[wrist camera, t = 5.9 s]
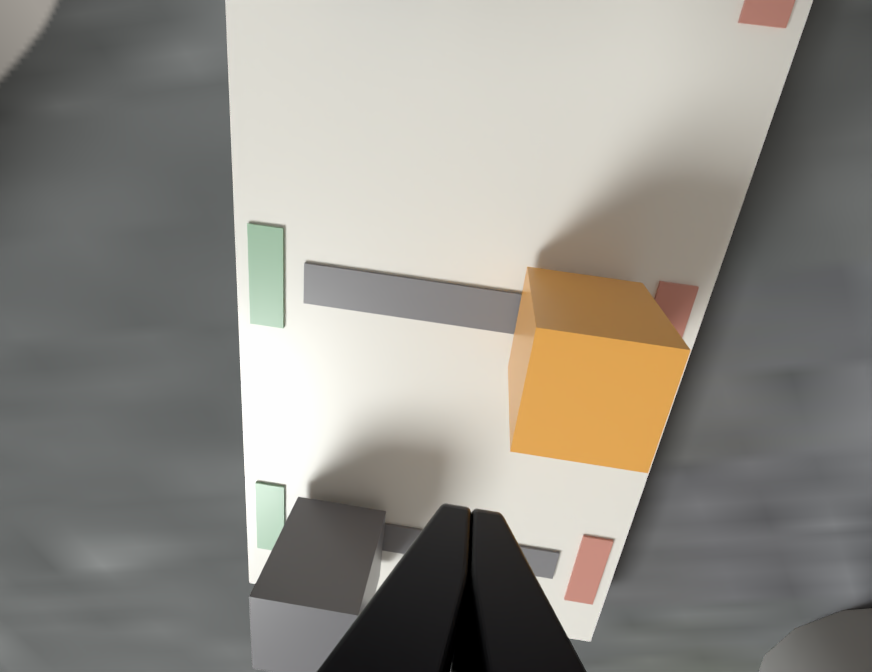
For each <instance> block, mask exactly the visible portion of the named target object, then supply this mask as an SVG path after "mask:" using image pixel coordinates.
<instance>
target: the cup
mask: <svg viewBox="0 0 872 672" xmlns="http://www.w3.org/2000/svg"><path fill="white" fill-rule="evenodd" d="M759 672H872V608H868V609H856V610H843V611H840V612H838V613H835V614H832V615H830V616H827V617H825V618H822V619H819V620H817V621H814V622H811V623H809V624H806V625H804V626H801V627H798V628H796V629H794V630H793V631H792V632H791V633H790V634H788V635H787V636H786V637H785V638H784V639H783V640H782V641H780V642H779V643H778V644H777V645H776V646H775V647H774V648H772V649H771V650H770V651H769V652H768V653H767V654H766V655H764V657H763V660H762V663H761V667H760V670H759Z"/></svg>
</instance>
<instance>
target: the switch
mask: <svg viewBox="0 0 872 672" xmlns="http://www.w3.org/2000/svg"><path fill="white" fill-rule="evenodd" d="M385 518H386V511H383V510H376V509H370V508H364V507H358V506H352V505H346V504H340V503H334V502H328V501H322V500H316V499H310V498H303V497H298V498H297V500H296V502H295V504H294V506H293V508H292V510H291V512H290V514H289V516H288V518H287V520H286V522H285V524H284V527H283V529H282V531H281V533H280V535H279V537H278V539H277V541H276V543H275V545H274V547H273V549H272V551H271V553H270V555H269V557H268V559H267V561H266V563H265V565H264V567H263V569H262V572H261V574H260V576H259V578H258V580H257V582H256V584H255V586H254V588H253V590H252V592H251V594H250V596H249V604H250V627H251V651H252V668H253V669H258V670H264V671H270V672H317V670H318V669H319V668H320V666H321V665H322V664H323V662H324V661H325V660H326V658H327V657H328V656H329V654H330V653H331V652H332V650H333V649H334V648H335V646H336V645H337V644H338V642H339V641H340V640H341V638H342V637H343V636H344V634H345V633H346V632H347V630H348V629H349V628H350V626H351V625H352V624H353V622H354V621H355V619H356V618H357V617H358V615H359V614H360V613H361V611H362V610H363V609H364V607H365V606H366V605H367V603H368V602H369V601H370V599H371V598H372V597H373V595H374V594H375V593H376V589H377V585H378V581H379V577H380V569H381V558H382V548H383V538H384V528H385Z"/></svg>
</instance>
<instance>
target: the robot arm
mask: <svg viewBox="0 0 872 672" xmlns="http://www.w3.org/2000/svg"><path fill="white" fill-rule="evenodd" d="M450 669H451V672H586V670H585V668H584V666H583V664H582V662H581V661H580V659H579V657H578V655H577V653H576V651H575V649H574V647H573V646H572V644H571V642H570V640H569V638H568V636H567V634H566V632H565V631H564V629H563V627H562V625H561V623H560V621H559V619H558V617H557V616H556V614H555V612H554V610H553V608H552V606H551V604H550V602H549V601H548V599H547V597H546V595H545V593H544V591H543V589H542V587H541V585H540V584H539V582H538V580H537V578H536V576H535V574H534V572H533V570H532V569H531V567H530V565H529V563H528V561H527V559H526V557H525V555H524V554H523V552H522V550H521V548H520V546H519V544H518V542H517V540H516V539H515V537H514V535H513V533H512V531H511V529H510V527H509V525H508V524H507V522H506V520H505V518H504V516H503V515H502V514H501V513H500V512H496V511H490V510H484V509H478V508H476V509H474V510H473V511H472V512H471V510H470V508H468V507H466V506H460V505H454V504H448V503H444V504H442V505H441V506H440V507H439V508H438V509H437V511H436V512H435V513H434V515H433V516H432V517H431V519H430V520H429V521H428V523H427V524H426V526H425V527H424V528H423V530H422V531H421V532H420V534H419V535H418V536H417V538H416V539H415V540H414V542H413V543H412V544H411V546H410V547H409V548H408V550H407V551H406V552H405V554H404V555H403V556H402V558H401V559H400V560H399V562H398V563H397V564H396V566H395V567H394V568H393V570H392V571H391V572H390V574H389V575H388V577H387V578H386V579H385V581H384V582H383V583H382V585H381V586H380V587H379V589H378V590H377V591H376V593H375V594H374V595H373V597H372V598H371V599H370V601H369V602H368V603H367V605H366V606H365V607H364V609H363V610H362V611H361V613H360V614H359V615H358V617H357V618H356V619H355V621H354V622H353V624H352V625H351V626H350V628H349V629H348V630H347V632H346V633H345V634H344V636H343V637H342V638H341V640H340V641H339V642H338V644H337V645H336V646H335V648H334V649H333V650H332V652H331V653H330V654H329V656H328V657H327V658H326V660H325V661H324V662H323V664H322V665H321V666H320V668H319V669H318V670H317V672H450Z"/></svg>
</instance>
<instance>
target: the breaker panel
mask: <svg viewBox="0 0 872 672" xmlns="http://www.w3.org/2000/svg"><path fill="white" fill-rule="evenodd" d="M812 2H813V0H225V4H226V28H227V52H228V76H229V101H230V125H231V149H232V173H233V198H234V222H235V246H236V271H237V295H238V319H239V343H240V368H241V392H242V416H243V440H244V465H245V489H246V513H247V537H248V562H249V583H253V584H256V582H257V580H258V578H259V576H260V574H261V572H262V569H263V567H264V565H265V563H266V561H267V559H268V557H269V555H270V553H271V551H272V549H273V547H274V545H275V543H276V541H277V539H278V537H279V535H280V533H281V531H282V529H283V527H284V524H285V522H286V520H287V518H288V516H289V514H290V512H291V510H292V508H293V506H294V504H295V502H296V500H297V498H298V497H303V498H310V499H316V500H322V501H328V502H334V503H340V504H346V505H352V506H358V507H364V508H370V509H376V510H383V511H386V518H385V528H384V538H383V548H382V558H381V569H380V577H379V581H378V585H377V589H376V591H377V590H378V589H379V587H380V586H381V585H382V583H383V582H384V581H385V579H386V578H387V577H388V575H389V574H390V572H391V571H392V570H393V568H394V567H395V566H396V564H397V563H398V562H399V560H400V559H401V558H402V556H403V555H404V554H405V552H406V551H407V550H408V548H409V547H410V546H411V544H412V543H413V542H414V540H415V539H416V538H417V536H418V535H419V534H420V532H421V531H422V530H423V528H424V527H425V526H426V524H427V523H428V521H429V520H430V519H431V517H432V516H433V515H434V513H435V512H436V511H437V509H438V508H439V507H440V506H441V505H442V504H444V503H448V504H454V505H460V506H466V507H468V508H470V510H471V512H472V511H473V510H474V509H476V508H478V509H484V510H490V511H496V512H500V513H501V514H502V515H503V516H504V518H505V520H506V522H507V524H508V525H509V527H510V529H511V531H512V533H513V535H514V537H515V539H516V540H517V542H518V544H519V546H520V548H521V550H522V552H523V554H524V555H525V557H526V559H527V561H528V563H529V565H530V567H531V569H532V570H533V572H534V574H535V576H536V578H537V580H538V582H539V584H540V585H541V587H542V589H543V591H544V593H545V595H546V597H547V599H548V601H549V602H550V604H551V606H552V608H553V610H554V612H555V614H556V616H557V617H558V619H559V621H560V623H561V625H562V627H563V629H564V631H565V632H566V634H567V636H568V638H572V639H578V640H583V641H589V642H590V641H591V639H592V636H593V633H594V630H595V627H596V624H597V621H598V618H599V615H600V613H601V610H602V607H603V604H604V601H605V598H606V595H607V592H608V590H609V587H610V584H611V581H612V578H613V575H614V572H615V569H616V567H617V564H618V561H619V558H620V555H621V552H622V549H623V546H624V544H625V541H626V538H627V535H628V532H629V529H630V526H631V523H632V521H633V518H634V515H635V512H636V509H637V506H638V503H639V500H640V497H641V495H642V492H643V489H644V486H645V483H646V480H647V477H648V474H649V472H650V469H651V466H652V463H653V461H652V463H651V466H650V469H649V472H648V473H643V472H636V471H630V470H624V469H617V468H611V467H605V466H598V465H592V464H586V463H579V462H573V461H567V460H560V459H554V458H548V457H541V456H535V455H528V454H522V453H516V452H510V428H509V392H508V363H509V358H510V353H511V348H512V343H513V337H514V332H515V327H516V322H517V317H518V311H519V306H520V301H521V296H522V291H523V285H524V280H525V275H526V270H527V267H534V268H542V269H549V270H556V271H563V272H570V273H577V274H584V275H591V276H598V277H605V278H612V279H619V280H626V281H633V282H641V283H643V284H644V285H645V287H646V288H647V290H648V291H649V292H650V294H651V295H652V297H653V298H654V299H655V301H656V302H657V304H658V305H659V306H660V308H661V309H662V311H663V312H664V313H665V315H666V316H667V318H668V319H669V320H670V322H671V323H672V325H673V326H674V327H675V329H676V330H677V332H678V333H679V334H680V336H681V337H682V339H683V340H684V341H685V343H686V344H687V346H688V347H689V348H690V350H691V351H692V348H693V345H694V342H695V339H696V336H697V333H698V331H699V328H700V325H701V322H702V319H703V316H704V313H705V310H706V308H707V305H708V302H709V299H710V296H711V293H712V290H713V287H714V285H715V282H716V279H717V276H718V273H719V270H720V267H721V264H722V262H723V259H724V256H725V253H726V250H727V247H728V244H729V241H730V238H731V236H732V233H733V230H734V227H735V224H736V221H737V218H738V215H739V213H740V210H741V207H742V204H743V201H744V198H745V195H746V192H747V190H748V187H749V184H750V181H751V178H752V175H753V172H754V169H755V167H756V164H757V161H758V158H759V155H760V152H761V149H762V146H763V144H764V141H765V138H766V135H767V132H768V129H769V126H770V123H771V120H772V118H773V115H774V112H775V109H776V106H777V103H778V100H779V97H780V95H781V92H782V89H783V86H784V83H785V80H786V77H787V74H788V72H789V69H790V66H791V63H792V60H793V57H794V54H795V51H796V49H797V46H798V43H799V40H800V37H801V34H802V31H803V28H804V26H805V23H806V20H807V17H808V14H809V11H810V8H811V5H812ZM691 351H690V354H691ZM690 354H689V356H690ZM688 359H689V357H688ZM687 362H688V360H687ZM687 362H686V365H687ZM686 365H685V368H686ZM685 368H684V371H685ZM684 371H683V374H684ZM683 374H682V377H683ZM682 377H681V379H682ZM680 382H681V380H680ZM679 385H680V383H679ZM679 385H678V388H679ZM678 388H677V391H678ZM677 391H676V394H677ZM676 394H675V397H676ZM675 397H674V400H675ZM674 400H673V403H674ZM673 403H672V405H673ZM671 408H672V406H671ZM670 411H671V409H670ZM670 411H669V414H670ZM669 414H668V417H669ZM668 417H667V420H668ZM667 420H666V423H667ZM666 423H665V426H666ZM665 426H664V428H665ZM663 431H664V429H663ZM662 434H663V432H662ZM661 437H662V435H661ZM661 437H660V440H661ZM660 440H659V443H660ZM659 443H658V446H659ZM658 446H657V449H658ZM657 449H656V451H657ZM655 454H656V452H655ZM654 457H655V455H654ZM653 460H654V458H653Z"/></svg>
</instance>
